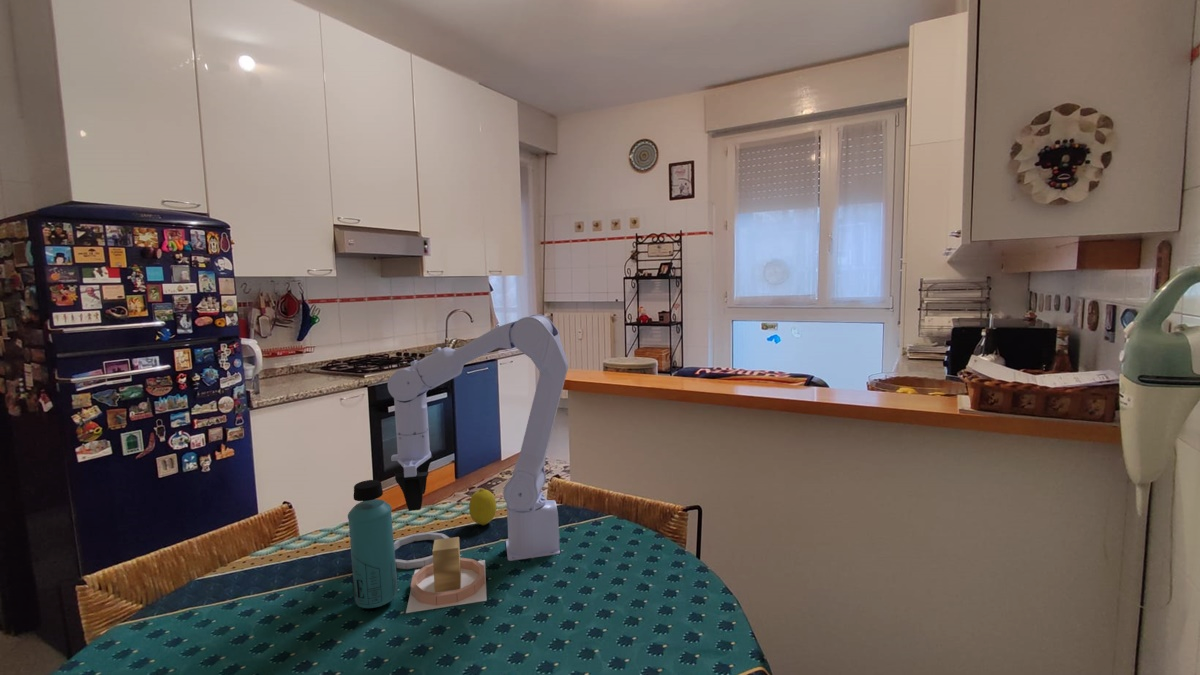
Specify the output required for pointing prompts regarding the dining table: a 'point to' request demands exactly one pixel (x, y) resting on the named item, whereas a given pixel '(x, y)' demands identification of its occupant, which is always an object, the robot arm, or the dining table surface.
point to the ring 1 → (411, 538)
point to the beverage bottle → (372, 547)
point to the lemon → (482, 506)
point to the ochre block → (447, 564)
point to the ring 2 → (452, 595)
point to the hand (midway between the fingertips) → (417, 501)
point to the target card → (429, 586)
